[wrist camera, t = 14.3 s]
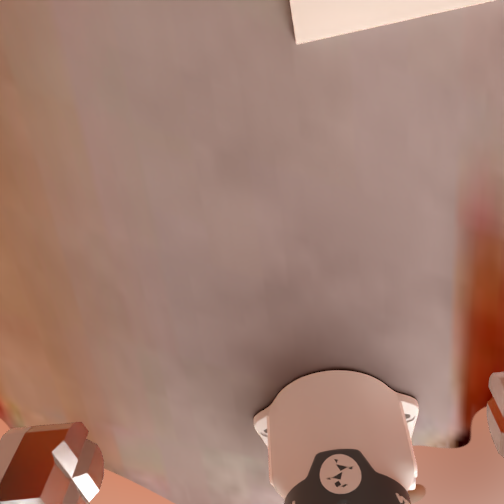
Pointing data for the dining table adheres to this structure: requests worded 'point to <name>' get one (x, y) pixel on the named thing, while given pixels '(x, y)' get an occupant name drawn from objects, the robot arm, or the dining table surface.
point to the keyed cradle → (360, 14)
